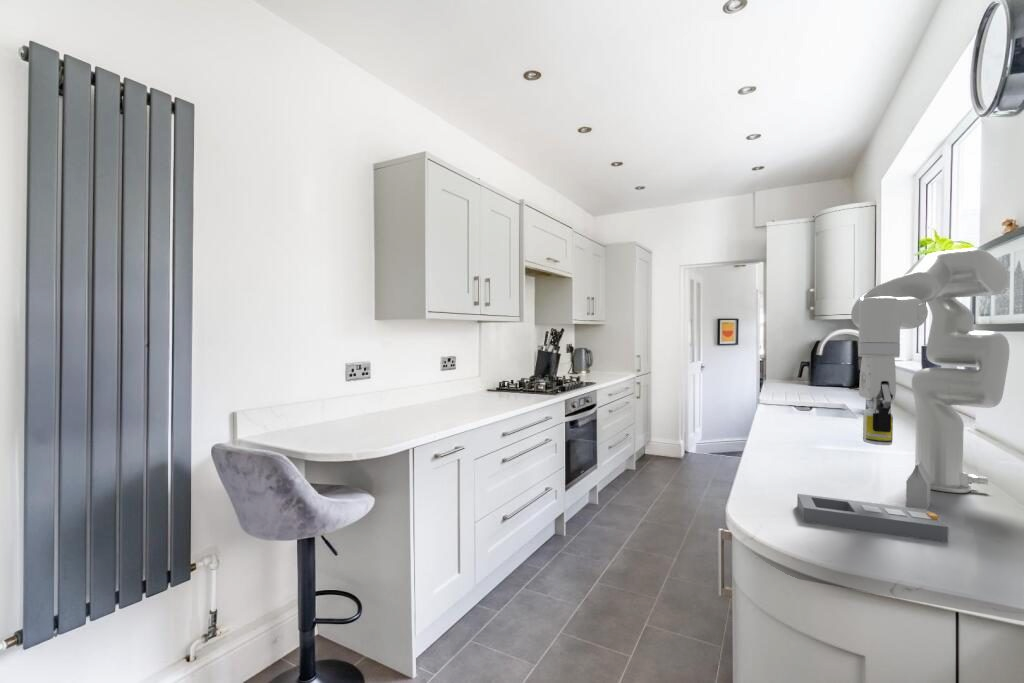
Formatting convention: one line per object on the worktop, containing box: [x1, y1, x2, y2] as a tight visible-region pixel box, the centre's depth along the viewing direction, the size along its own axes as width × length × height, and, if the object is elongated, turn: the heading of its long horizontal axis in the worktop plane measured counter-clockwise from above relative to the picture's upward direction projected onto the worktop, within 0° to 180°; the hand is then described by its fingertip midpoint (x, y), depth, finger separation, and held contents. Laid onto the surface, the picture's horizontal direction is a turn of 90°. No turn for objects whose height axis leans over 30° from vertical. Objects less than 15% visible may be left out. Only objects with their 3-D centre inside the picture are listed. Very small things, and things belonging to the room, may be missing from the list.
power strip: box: [796, 493, 949, 543], centre depth 101 cm, size 24×10×4 cm, turn 65°
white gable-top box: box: [905, 460, 932, 510], centre depth 112 cm, size 4×7×10 cm, turn 133°
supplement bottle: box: [862, 400, 894, 446], centre depth 109 cm, size 5×5×10 cm
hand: (877, 428), depth 109 cm, fingers closed on supplement bottle, 5 cm apart
